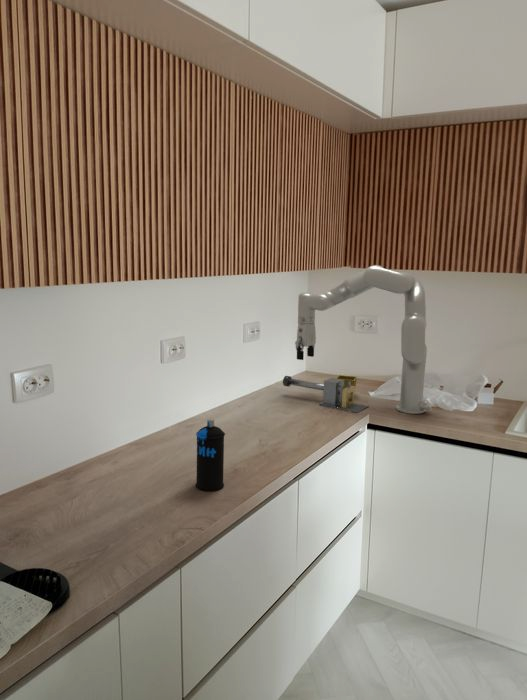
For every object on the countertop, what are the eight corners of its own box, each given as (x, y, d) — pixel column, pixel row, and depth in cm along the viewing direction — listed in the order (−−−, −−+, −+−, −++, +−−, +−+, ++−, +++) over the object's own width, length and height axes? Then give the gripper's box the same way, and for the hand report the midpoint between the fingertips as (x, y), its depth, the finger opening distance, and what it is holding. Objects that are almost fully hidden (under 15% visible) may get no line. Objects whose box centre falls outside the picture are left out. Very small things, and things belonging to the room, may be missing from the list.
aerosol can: (209, 478, 177) (210, 413, 173) (229, 485, 171) (231, 419, 168) (189, 486, 170) (190, 419, 167) (210, 494, 165) (210, 425, 162)
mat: (368, 407, 259) (368, 406, 259) (357, 413, 250) (357, 412, 249) (347, 403, 265) (347, 402, 265) (336, 409, 255) (336, 408, 255)
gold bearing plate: (353, 404, 261) (355, 386, 260) (345, 408, 254) (346, 389, 253) (349, 403, 262) (350, 385, 261) (341, 408, 255) (342, 389, 254)
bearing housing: (346, 403, 265) (347, 379, 263) (335, 408, 256) (336, 383, 254) (330, 400, 269) (331, 376, 267) (319, 405, 260) (320, 381, 258)
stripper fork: (349, 404, 263) (350, 381, 261) (341, 408, 255) (342, 385, 254) (348, 404, 263) (349, 381, 261) (339, 408, 256) (340, 385, 254)
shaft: (342, 394, 262) (342, 383, 261) (337, 396, 258) (337, 385, 257) (288, 384, 277) (288, 374, 276) (282, 386, 273) (283, 376, 272)
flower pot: (334, 397, 275) (335, 378, 273) (337, 393, 283) (338, 374, 281) (353, 399, 272) (354, 380, 270) (356, 395, 280) (357, 376, 279)
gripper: (304, 323, 256) (303, 361, 259) (322, 319, 270) (321, 356, 273) (289, 321, 260) (288, 359, 263) (308, 318, 274) (307, 354, 277)
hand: (305, 357), depth 268 cm, fingers open, 9 cm apart
